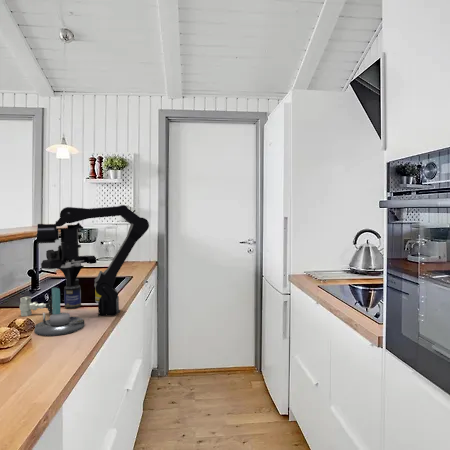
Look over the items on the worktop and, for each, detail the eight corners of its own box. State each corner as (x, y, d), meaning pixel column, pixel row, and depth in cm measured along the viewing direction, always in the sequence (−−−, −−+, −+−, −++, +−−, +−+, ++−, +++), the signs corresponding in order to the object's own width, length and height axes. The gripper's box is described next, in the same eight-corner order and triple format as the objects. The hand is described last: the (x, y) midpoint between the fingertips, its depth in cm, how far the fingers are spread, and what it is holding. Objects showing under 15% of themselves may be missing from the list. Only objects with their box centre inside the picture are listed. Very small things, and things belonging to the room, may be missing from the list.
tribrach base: (94, 323, 123) (94, 310, 122) (60, 338, 109) (59, 323, 108) (60, 319, 128) (59, 306, 128) (23, 333, 114) (22, 319, 114)
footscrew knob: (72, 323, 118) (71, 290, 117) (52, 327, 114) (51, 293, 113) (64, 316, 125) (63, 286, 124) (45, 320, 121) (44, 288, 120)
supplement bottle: (101, 303, 148) (100, 280, 148) (92, 302, 151) (92, 279, 151) (111, 301, 153) (111, 278, 153) (103, 299, 156) (102, 277, 155)
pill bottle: (65, 309, 140) (64, 281, 140) (64, 306, 146) (63, 279, 145) (82, 307, 143) (81, 280, 142) (80, 304, 148) (79, 277, 148)
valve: (16, 318, 130) (50, 316, 132) (15, 300, 130) (50, 298, 131) (24, 312, 137) (57, 311, 138) (23, 295, 137) (56, 294, 138)
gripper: (77, 240, 140) (78, 280, 140) (30, 243, 124) (32, 289, 124) (96, 240, 134) (98, 282, 134) (50, 243, 118) (52, 291, 118)
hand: (70, 286), depth 128 cm, fingers closed
